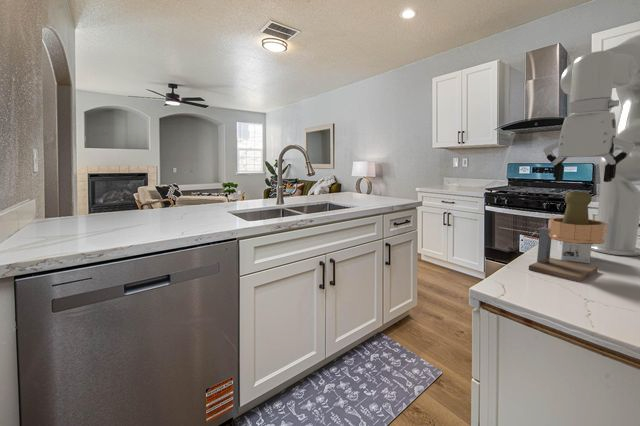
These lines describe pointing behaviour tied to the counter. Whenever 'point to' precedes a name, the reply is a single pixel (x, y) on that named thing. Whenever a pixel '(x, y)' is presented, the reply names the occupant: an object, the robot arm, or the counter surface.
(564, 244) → the light bulb box
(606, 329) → the counter surface
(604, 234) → the cup bracket
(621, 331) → the counter surface
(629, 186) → the robot arm
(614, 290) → the counter surface
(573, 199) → the cork
